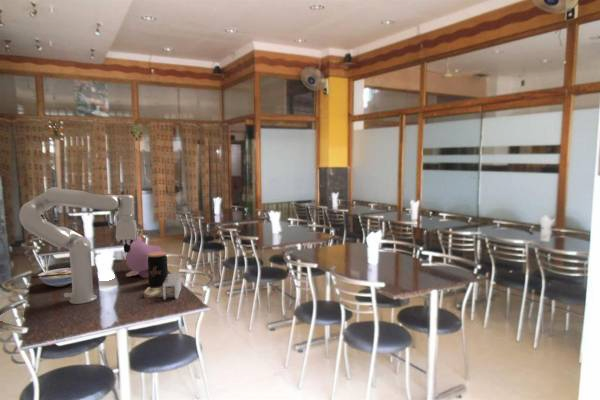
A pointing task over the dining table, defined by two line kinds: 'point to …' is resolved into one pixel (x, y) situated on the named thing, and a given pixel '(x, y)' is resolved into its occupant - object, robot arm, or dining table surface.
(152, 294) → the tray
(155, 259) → the coffee jar
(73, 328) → the dining table surface
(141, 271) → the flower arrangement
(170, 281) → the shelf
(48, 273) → the ramen bowl
